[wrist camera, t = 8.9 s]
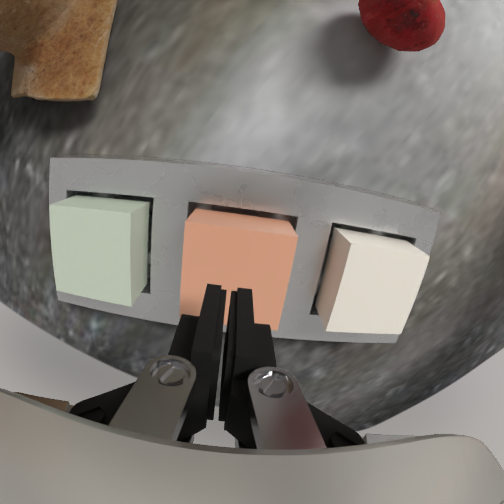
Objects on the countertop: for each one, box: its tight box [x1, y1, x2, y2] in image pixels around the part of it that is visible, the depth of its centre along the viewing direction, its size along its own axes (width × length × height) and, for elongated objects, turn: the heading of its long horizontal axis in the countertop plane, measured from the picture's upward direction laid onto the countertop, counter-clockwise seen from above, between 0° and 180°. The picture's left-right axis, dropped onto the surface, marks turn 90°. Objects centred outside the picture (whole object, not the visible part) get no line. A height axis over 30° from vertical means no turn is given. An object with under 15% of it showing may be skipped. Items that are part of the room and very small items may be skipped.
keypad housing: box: [49, 154, 441, 343], centre depth 19 cm, size 25×10×4 cm, turn 81°
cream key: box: [315, 227, 430, 334], centre depth 16 cm, size 5×5×3 cm
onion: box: [358, 0, 445, 51], centre depth 11 cm, size 6×6×8 cm
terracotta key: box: [179, 209, 298, 331], centre depth 15 cm, size 5×5×3 cm
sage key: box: [49, 195, 150, 307], centre depth 15 cm, size 5×5×3 cm
